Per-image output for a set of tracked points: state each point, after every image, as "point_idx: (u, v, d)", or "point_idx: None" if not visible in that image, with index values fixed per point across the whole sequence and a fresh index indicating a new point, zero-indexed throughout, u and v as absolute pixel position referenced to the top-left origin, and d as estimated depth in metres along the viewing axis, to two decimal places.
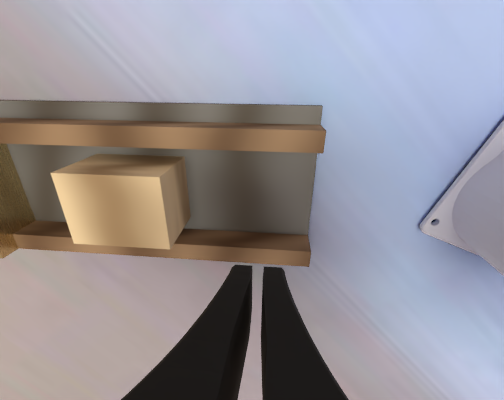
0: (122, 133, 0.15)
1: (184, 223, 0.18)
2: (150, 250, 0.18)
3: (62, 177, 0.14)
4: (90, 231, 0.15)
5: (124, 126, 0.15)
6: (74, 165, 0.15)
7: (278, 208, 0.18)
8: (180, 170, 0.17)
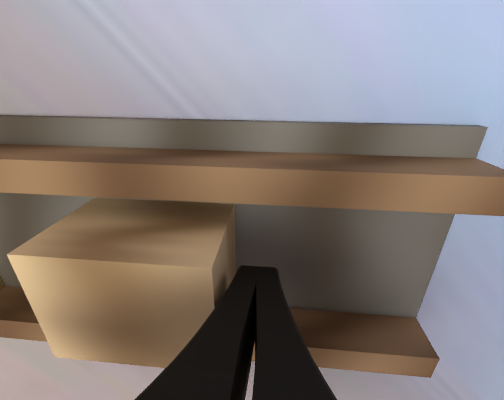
0: (138, 176, 0.08)
1: None
2: None
3: (29, 262, 0.08)
4: (82, 341, 0.09)
5: (142, 164, 0.08)
6: (54, 230, 0.09)
7: (376, 281, 0.12)
8: (230, 229, 0.10)
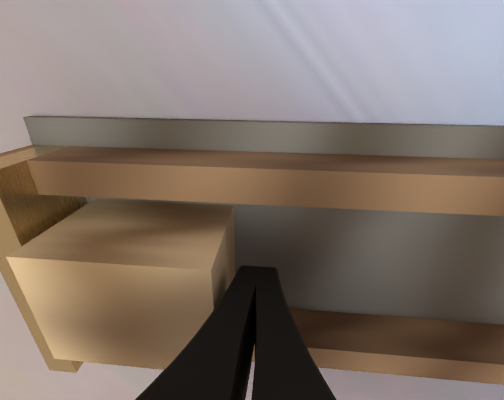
0: (331, 183, 0.08)
1: None
2: (314, 359, 0.11)
3: (28, 264, 0.08)
4: (81, 343, 0.09)
5: (338, 172, 0.08)
6: (53, 232, 0.09)
7: None
8: (230, 231, 0.10)
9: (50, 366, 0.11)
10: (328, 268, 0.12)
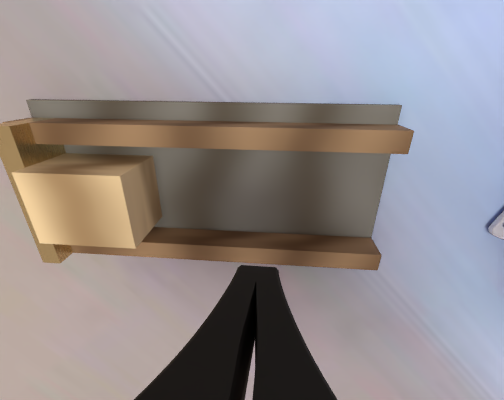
0: (197, 133, 0.14)
1: (154, 222, 0.18)
2: (212, 254, 0.18)
3: (23, 176, 0.14)
4: (55, 230, 0.15)
5: (200, 126, 0.14)
6: (38, 164, 0.15)
7: (343, 210, 0.18)
8: (147, 169, 0.17)
9: (43, 259, 0.17)
10: (223, 198, 0.18)
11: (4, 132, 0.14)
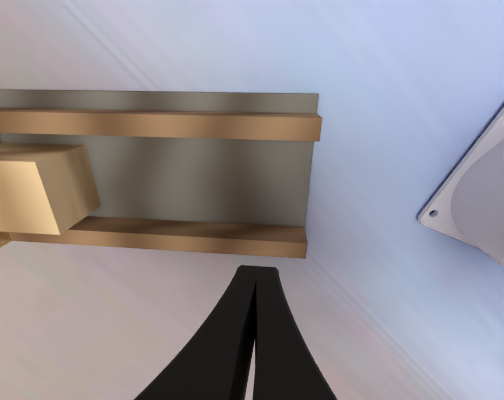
0: (115, 121, 0.15)
1: (88, 211, 0.18)
2: (144, 242, 0.18)
3: None
4: None
5: (117, 114, 0.14)
6: None
7: (274, 199, 0.18)
8: (77, 158, 0.17)
9: None
10: (157, 187, 0.18)
11: None
